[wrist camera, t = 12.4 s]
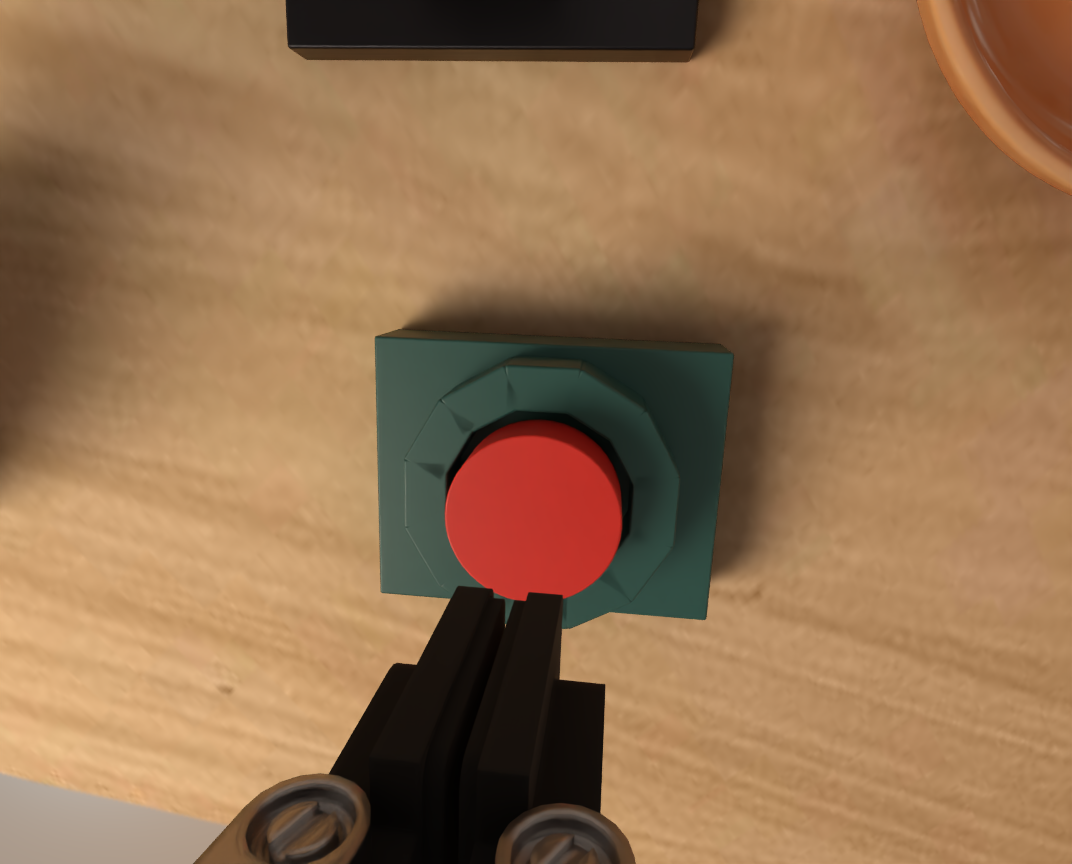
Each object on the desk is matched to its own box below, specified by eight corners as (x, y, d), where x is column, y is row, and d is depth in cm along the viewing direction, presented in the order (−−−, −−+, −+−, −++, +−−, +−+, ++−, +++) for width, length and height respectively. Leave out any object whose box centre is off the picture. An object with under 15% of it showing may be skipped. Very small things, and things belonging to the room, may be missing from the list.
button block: (401, 563, 23) (359, 623, 19) (397, 328, 21) (350, 343, 18) (697, 587, 22) (715, 654, 18) (721, 344, 20) (747, 362, 17)
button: (458, 567, 19) (444, 596, 17) (459, 414, 18) (444, 429, 16) (615, 579, 19) (616, 611, 17) (626, 423, 18) (628, 440, 16)
